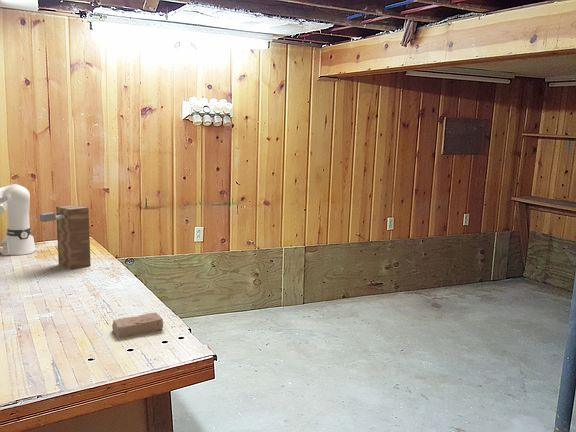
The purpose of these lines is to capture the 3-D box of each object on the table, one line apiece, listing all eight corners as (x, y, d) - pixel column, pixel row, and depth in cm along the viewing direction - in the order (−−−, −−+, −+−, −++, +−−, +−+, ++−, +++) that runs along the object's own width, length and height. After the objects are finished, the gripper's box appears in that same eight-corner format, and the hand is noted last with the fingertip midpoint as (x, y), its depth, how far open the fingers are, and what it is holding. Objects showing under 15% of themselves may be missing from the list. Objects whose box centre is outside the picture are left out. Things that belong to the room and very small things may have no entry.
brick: (117, 339, 179) (117, 326, 179) (111, 331, 186) (111, 318, 186) (164, 330, 188) (164, 318, 187) (156, 323, 195) (156, 311, 194)
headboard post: (58, 264, 273) (56, 206, 268) (76, 261, 281) (74, 204, 276) (72, 269, 265) (70, 209, 260) (90, 265, 272) (88, 207, 268)
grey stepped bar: (44, 222, 255) (43, 215, 254) (40, 221, 258) (39, 214, 257) (74, 216, 267) (73, 209, 267) (70, 215, 270) (69, 209, 269)
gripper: (-27, 219, 243) (-1, 203, 251) (-10, 224, 230) (18, 207, 239) (-35, 207, 240) (-8, 192, 248) (-18, 212, 227) (10, 196, 235)
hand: (5, 199), depth 243 cm, fingers open, 8 cm apart
